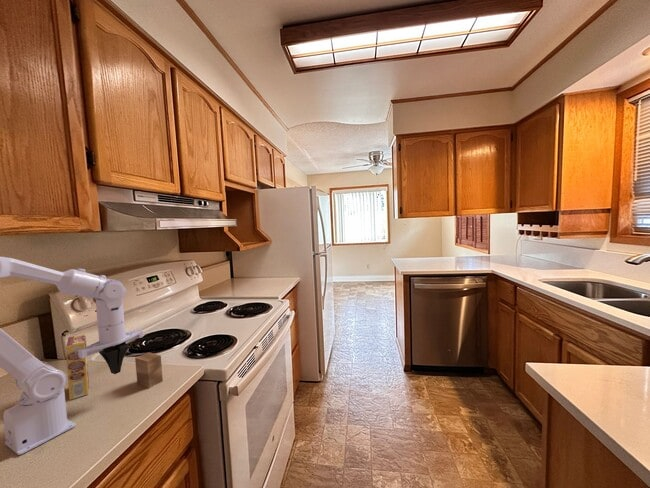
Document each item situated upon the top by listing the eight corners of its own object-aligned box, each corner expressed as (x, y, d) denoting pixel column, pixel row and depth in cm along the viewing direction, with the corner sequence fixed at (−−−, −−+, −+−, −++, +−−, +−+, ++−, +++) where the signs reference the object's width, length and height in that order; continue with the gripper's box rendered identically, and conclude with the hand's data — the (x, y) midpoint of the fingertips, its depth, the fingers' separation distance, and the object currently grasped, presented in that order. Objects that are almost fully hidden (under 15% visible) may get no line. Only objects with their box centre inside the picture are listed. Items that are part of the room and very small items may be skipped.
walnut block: (149, 388, 81) (147, 361, 80) (137, 383, 83) (135, 357, 83) (162, 381, 84) (160, 355, 84) (150, 377, 87) (148, 352, 87)
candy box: (89, 394, 79) (84, 341, 78) (69, 400, 76) (63, 346, 75) (90, 381, 86) (85, 333, 85) (71, 387, 83) (66, 337, 82)
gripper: (131, 313, 83) (135, 358, 84) (70, 330, 70) (75, 382, 71) (145, 316, 80) (149, 362, 81) (84, 334, 67) (89, 389, 68)
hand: (115, 372), depth 76 cm, fingers closed
